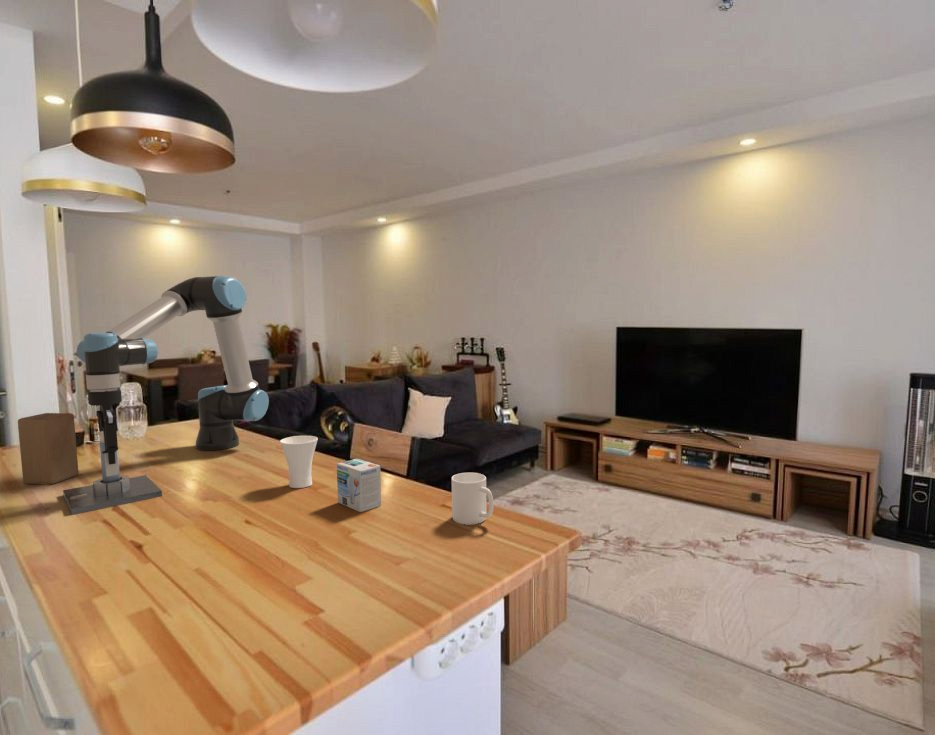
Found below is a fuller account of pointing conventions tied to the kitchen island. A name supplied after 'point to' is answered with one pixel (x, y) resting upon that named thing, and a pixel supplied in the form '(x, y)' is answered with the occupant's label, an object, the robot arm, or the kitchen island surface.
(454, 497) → the cup
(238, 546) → the kitchen island surface
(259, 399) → the robot arm
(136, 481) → the base plate
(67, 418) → the wooden block
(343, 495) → the light bulb box
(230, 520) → the kitchen island surface
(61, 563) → the kitchen island surface
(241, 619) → the kitchen island surface
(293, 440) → the cup
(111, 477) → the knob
